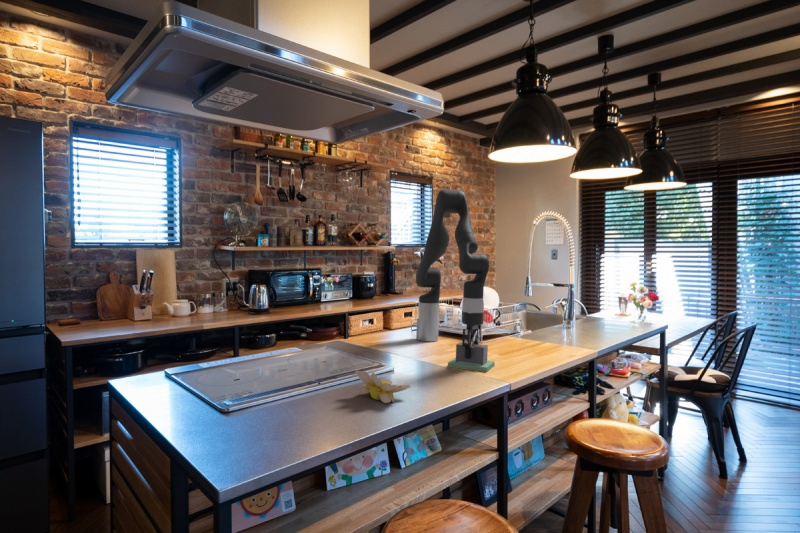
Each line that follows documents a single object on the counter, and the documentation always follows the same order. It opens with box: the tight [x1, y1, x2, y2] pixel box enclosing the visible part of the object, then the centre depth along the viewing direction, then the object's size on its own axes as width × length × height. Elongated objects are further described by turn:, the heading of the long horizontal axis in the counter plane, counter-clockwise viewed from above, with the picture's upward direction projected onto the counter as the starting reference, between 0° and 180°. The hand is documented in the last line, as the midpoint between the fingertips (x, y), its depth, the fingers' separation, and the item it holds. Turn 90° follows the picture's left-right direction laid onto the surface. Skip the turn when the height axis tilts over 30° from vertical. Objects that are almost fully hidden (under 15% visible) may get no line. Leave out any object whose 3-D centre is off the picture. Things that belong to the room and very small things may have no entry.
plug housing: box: [455, 341, 489, 365], centre depth 159 cm, size 10×5×6 cm, turn 63°
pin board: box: [447, 357, 495, 373], centre depth 159 cm, size 14×10×6 cm
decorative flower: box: [354, 370, 412, 404], centre depth 122 cm, size 15×11×10 cm
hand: (471, 356), depth 159 cm, fingers open, 8 cm apart
